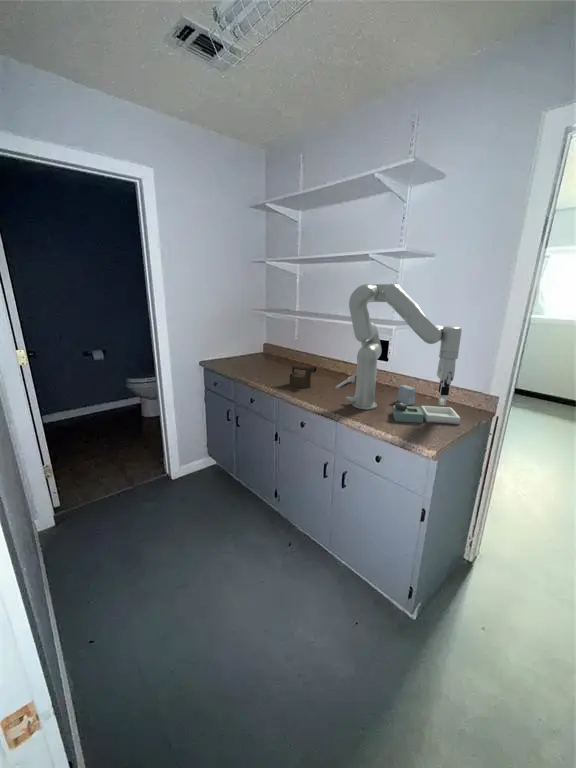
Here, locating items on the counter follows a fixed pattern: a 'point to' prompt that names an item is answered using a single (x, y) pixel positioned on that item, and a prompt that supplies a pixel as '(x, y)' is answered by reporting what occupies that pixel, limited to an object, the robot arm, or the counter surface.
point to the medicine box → (406, 394)
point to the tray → (440, 415)
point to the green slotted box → (407, 413)
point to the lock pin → (442, 397)
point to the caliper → (346, 381)
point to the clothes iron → (301, 377)
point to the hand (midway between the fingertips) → (443, 393)
